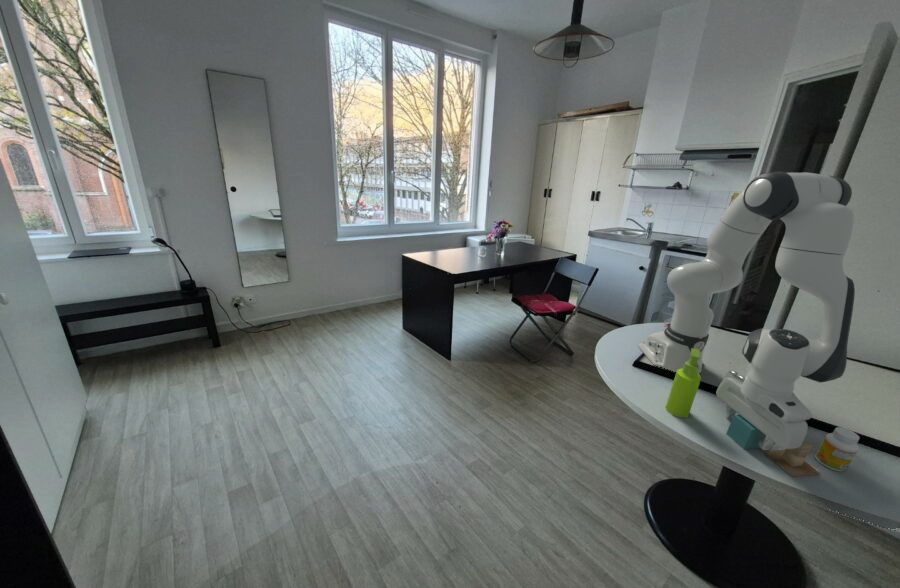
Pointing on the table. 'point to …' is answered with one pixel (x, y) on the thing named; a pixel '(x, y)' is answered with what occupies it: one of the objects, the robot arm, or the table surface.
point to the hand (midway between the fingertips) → (746, 433)
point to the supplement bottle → (838, 449)
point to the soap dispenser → (684, 387)
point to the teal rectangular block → (744, 433)
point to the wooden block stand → (793, 460)
